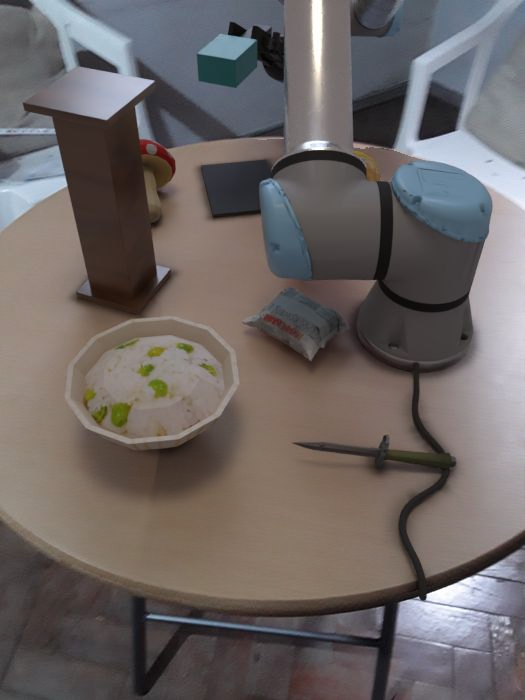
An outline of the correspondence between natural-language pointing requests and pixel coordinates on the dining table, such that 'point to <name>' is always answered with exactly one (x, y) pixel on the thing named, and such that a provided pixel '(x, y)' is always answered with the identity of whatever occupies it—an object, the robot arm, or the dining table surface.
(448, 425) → the dining table surface
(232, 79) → the teal long block
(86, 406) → the bowl
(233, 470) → the dining table surface
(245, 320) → the packaged food
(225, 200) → the mat
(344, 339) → the dining table surface
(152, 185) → the decorative mushroom
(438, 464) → the knife
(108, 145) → the stand
